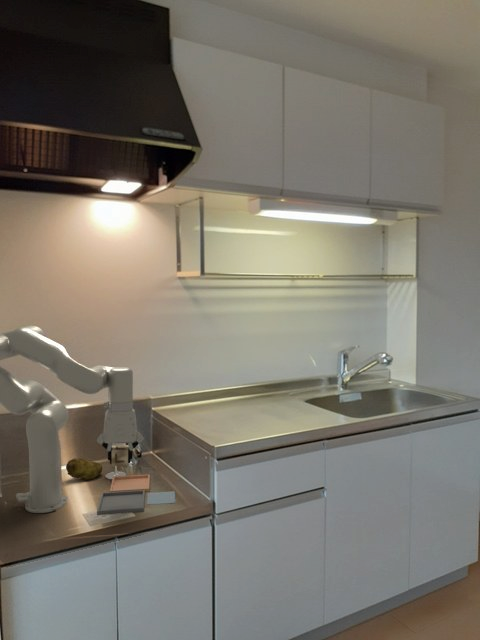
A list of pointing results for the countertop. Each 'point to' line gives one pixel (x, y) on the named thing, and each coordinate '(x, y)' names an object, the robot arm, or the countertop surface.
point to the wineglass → (115, 473)
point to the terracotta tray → (130, 483)
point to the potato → (83, 468)
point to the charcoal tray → (121, 502)
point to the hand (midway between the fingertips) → (120, 461)
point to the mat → (161, 498)
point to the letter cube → (120, 455)
